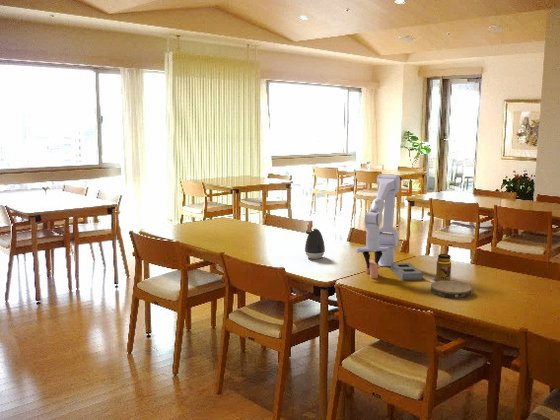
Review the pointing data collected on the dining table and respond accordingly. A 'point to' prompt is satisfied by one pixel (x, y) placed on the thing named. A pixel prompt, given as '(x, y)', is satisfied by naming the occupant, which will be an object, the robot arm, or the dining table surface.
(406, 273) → the gray block with cutout
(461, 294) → the gray brown round disc
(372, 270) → the tall salmon pink prism
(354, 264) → the dining table surface
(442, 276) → the condiment
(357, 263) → the dining table surface
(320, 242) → the pump dispenser
